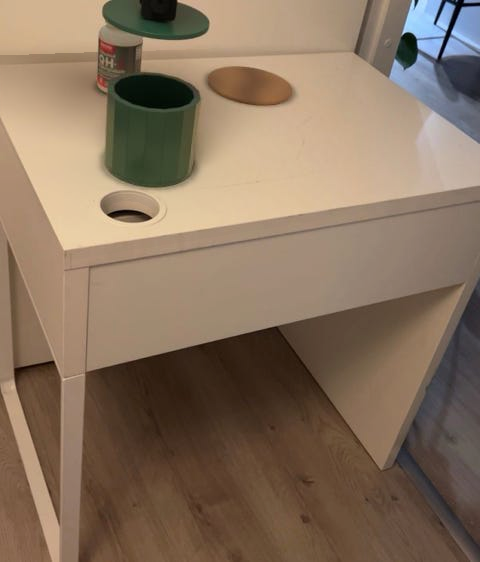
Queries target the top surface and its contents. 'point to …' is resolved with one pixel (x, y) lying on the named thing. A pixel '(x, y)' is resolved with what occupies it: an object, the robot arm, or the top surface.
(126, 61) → the pill bottle
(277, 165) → the top surface
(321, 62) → the top surface
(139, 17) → the tin lid
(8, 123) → the top surface
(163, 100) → the tin
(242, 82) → the cork mat
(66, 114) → the top surface
